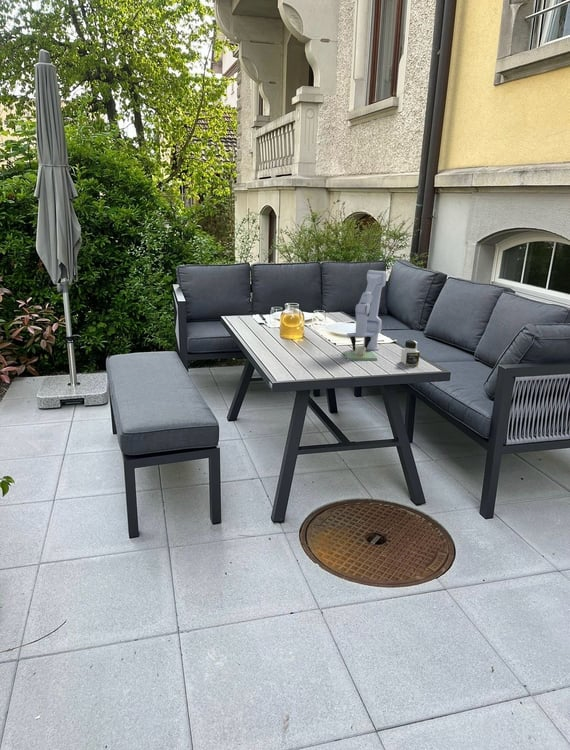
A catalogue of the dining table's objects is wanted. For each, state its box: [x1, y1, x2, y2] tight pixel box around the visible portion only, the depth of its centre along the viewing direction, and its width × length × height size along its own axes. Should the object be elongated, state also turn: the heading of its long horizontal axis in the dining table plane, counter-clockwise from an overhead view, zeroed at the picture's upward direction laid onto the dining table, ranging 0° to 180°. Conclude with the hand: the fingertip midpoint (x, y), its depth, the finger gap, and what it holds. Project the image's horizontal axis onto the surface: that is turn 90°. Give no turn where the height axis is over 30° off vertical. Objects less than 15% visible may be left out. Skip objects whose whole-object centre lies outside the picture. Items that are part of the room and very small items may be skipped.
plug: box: [353, 344, 367, 355], centre depth 306 cm, size 5×6×4 cm
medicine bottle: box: [400, 339, 421, 366], centre depth 295 cm, size 7×7×12 cm
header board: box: [342, 350, 378, 361], centre depth 304 cm, size 12×16×4 cm
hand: (359, 350), depth 306 cm, fingers closed on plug, 5 cm apart
